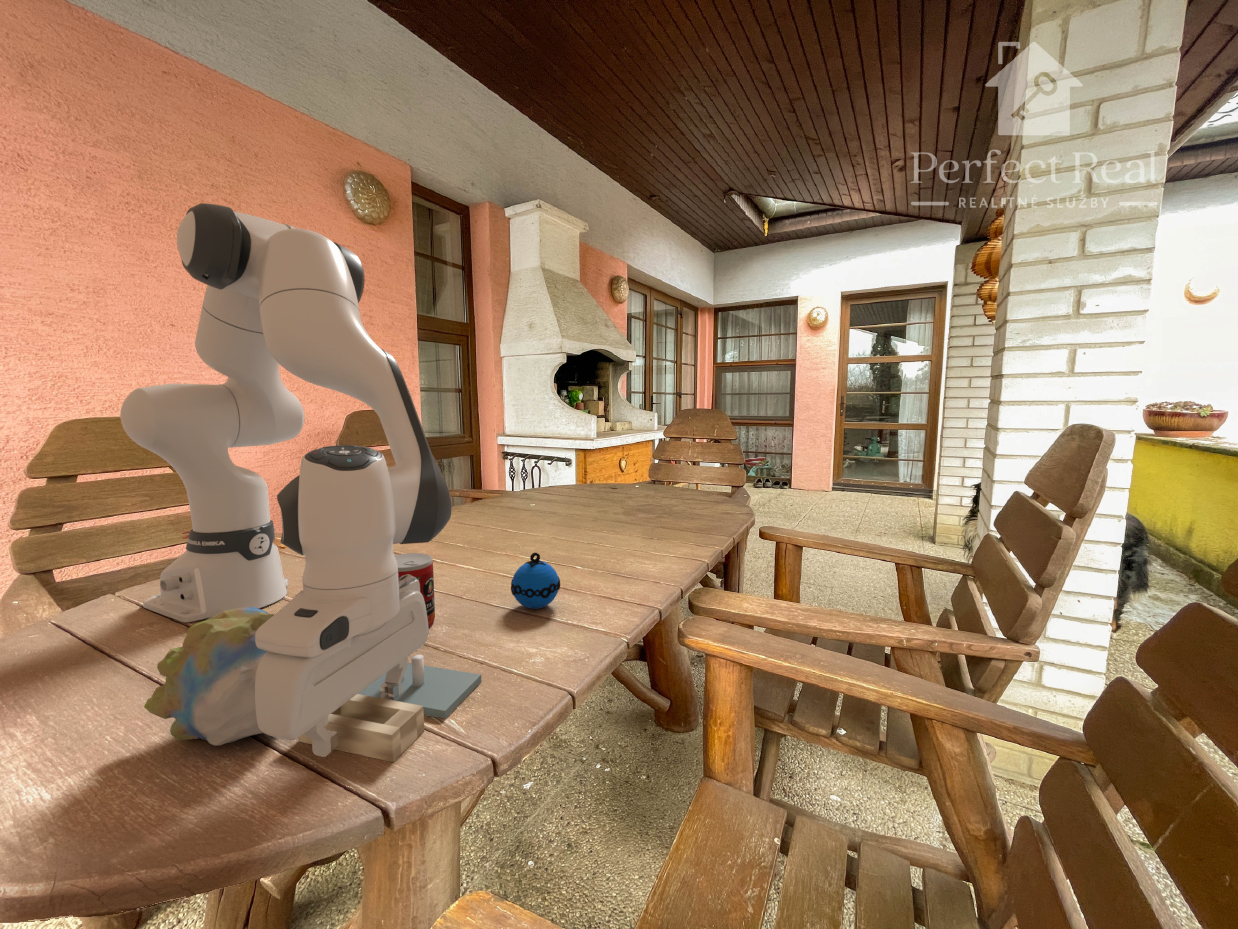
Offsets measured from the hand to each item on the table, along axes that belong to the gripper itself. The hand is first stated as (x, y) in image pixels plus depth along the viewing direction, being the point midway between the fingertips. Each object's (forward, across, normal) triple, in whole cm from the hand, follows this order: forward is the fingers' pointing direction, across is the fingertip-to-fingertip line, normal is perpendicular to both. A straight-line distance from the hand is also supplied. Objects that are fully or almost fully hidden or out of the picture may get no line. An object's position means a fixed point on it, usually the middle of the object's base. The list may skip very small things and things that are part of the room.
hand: (361, 722), depth 54 cm
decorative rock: (+2, +2, -15) cm, 15 cm away
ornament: (+2, -37, +4) cm, 37 cm away
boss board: (+2, -9, -1) cm, 9 cm away
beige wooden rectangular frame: (+2, 0, 0) cm, 2 cm away
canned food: (+2, -25, -13) cm, 28 cm away
